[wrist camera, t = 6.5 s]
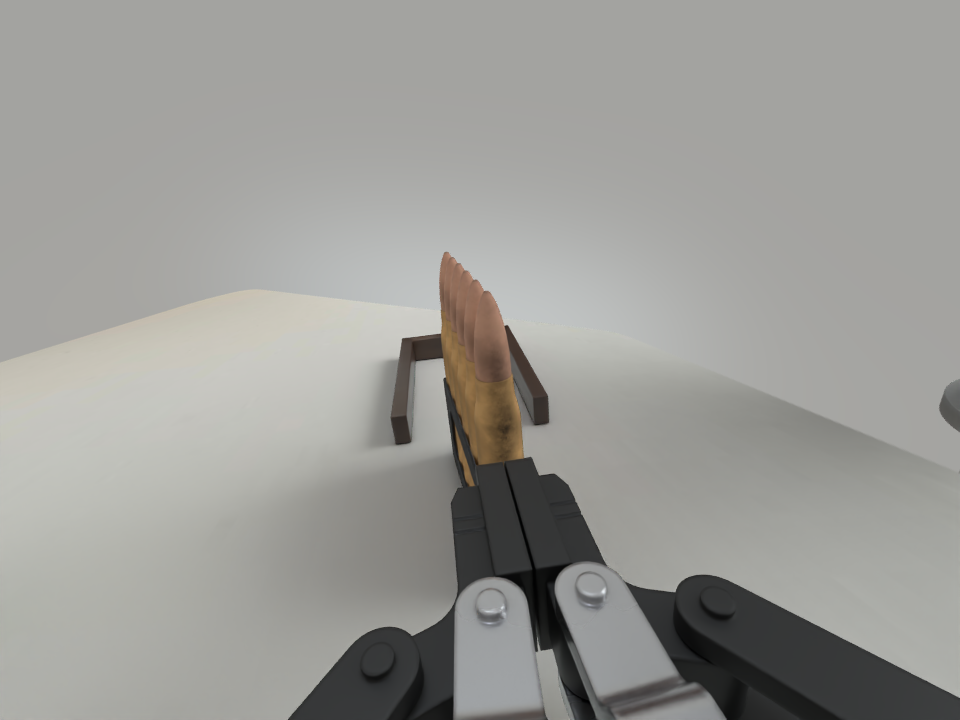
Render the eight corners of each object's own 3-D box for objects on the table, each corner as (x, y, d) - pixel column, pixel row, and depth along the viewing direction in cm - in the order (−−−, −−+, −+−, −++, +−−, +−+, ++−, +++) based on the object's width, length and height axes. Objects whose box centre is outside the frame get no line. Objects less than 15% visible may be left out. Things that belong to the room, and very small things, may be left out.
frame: (509, 344, 43) (507, 325, 42) (549, 422, 29) (548, 395, 28) (405, 358, 42) (402, 338, 42) (395, 444, 29) (390, 417, 28)
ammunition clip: (452, 452, 27) (425, 251, 23) (482, 446, 27) (461, 247, 23) (495, 601, 17) (462, 302, 13) (540, 590, 18) (524, 293, 13)
